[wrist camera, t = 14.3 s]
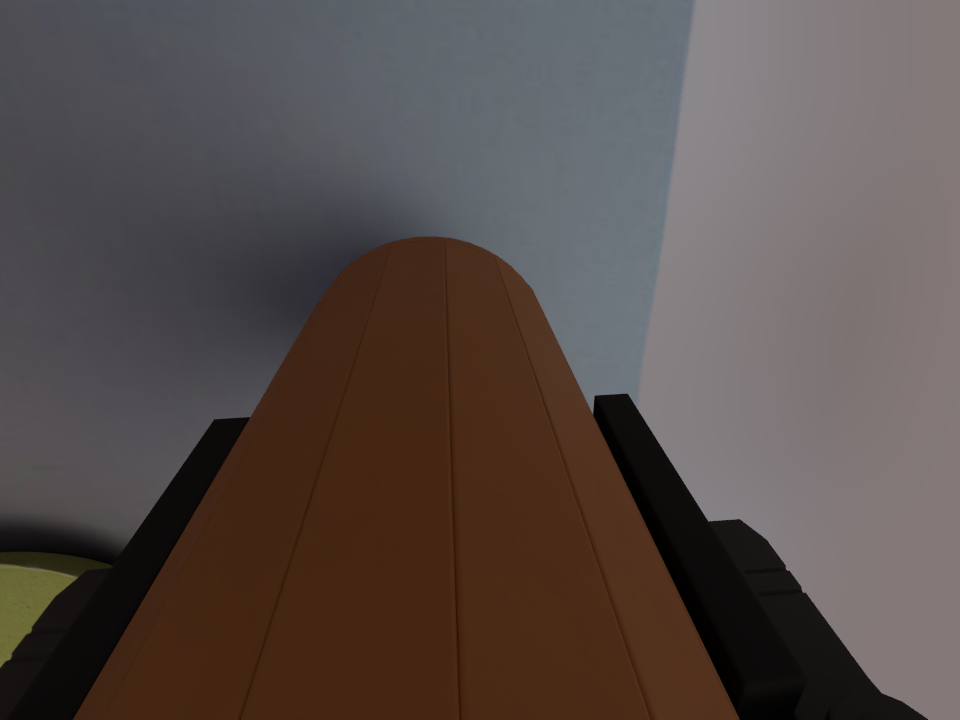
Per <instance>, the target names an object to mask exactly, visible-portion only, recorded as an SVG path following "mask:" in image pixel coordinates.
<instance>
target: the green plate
mask: <svg viewBox="0 0 960 720" xmlns="http://www.w3.org/2000/svg"><path fill="white" fill-rule="evenodd" d="M112 566H113V565H110V564H106V563H103V562H99V561H95V560H91V559H87V558H82V557H76V556H70V555H62V554H54V553H42V552H0V668H1V666H2V665H3V664H4V663H5V661H7V660H10V659H11V657H12V654H11V653H12V652H13V651H14V650H15V648H16V647H17V646H18V644H19V643H20V642H21V640H22V639H23V638H24V636H25V635H26V634H29V633H31V631H32V628H31V627H32V626H33V625H34V623H35V622H36V621H37V620H38V618H39V617H40V616H41V614H42V613H43V612H44V610H45V609H46V608H47V606H48V605H49V604H50V603H51V601H52V600H53V599H54V597H55V596H56V595H58V594H59V593H60V592H61V591H63V590H64V589H65V588H66V587H67V586H69V585H70V584H71V583H72V582H73V581H75V580H76V579H77V578H78V577H79V576H81V575H82V574H83V573H84V572H85V571H87V570H93V569H106V568H112Z"/></svg>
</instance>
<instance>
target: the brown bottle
mask: <svg viewBox="0 0 960 720" xmlns="http://www.w3.org/2000/svg"><path fill="white" fill-rule="evenodd" d="M73 720H740V719H739V717H738V715H737V713H736V711H735V709H734V707H733V705H732V703H731V701H730V698H729V696H728V694H727V692H726V690H725V688H724V686H723V684H722V682H721V680H720V678H719V676H718V674H717V672H716V669H715V667H714V665H713V663H712V661H711V659H710V657H709V655H708V653H707V651H706V649H705V647H704V645H703V642H702V640H701V638H700V636H699V634H698V632H697V630H696V628H695V626H694V624H693V622H692V620H691V618H690V615H689V613H688V611H687V609H686V607H685V605H684V603H683V601H682V599H681V597H680V595H679V593H678V591H677V588H676V586H675V584H674V582H673V580H672V578H671V576H670V574H669V572H668V570H667V568H666V566H665V564H664V561H663V559H662V557H661V555H660V553H659V551H658V549H657V547H656V545H655V543H654V541H653V539H652V537H651V534H650V532H649V530H648V528H647V526H646V524H645V522H644V520H643V518H642V516H641V514H640V512H639V510H638V508H637V505H636V503H635V501H634V499H633V497H632V495H631V493H630V491H629V489H628V487H627V485H626V483H625V481H624V478H623V476H622V474H621V472H620V470H619V468H618V466H617V464H616V462H615V460H614V458H613V456H612V454H611V451H610V449H609V447H608V445H607V443H606V441H605V439H604V437H603V435H602V433H601V431H600V429H599V427H598V424H597V422H596V420H595V418H594V416H593V414H592V412H591V410H590V408H589V406H588V404H587V402H586V400H585V397H584V395H583V393H582V391H581V389H580V387H579V385H578V383H577V381H576V379H575V377H574V375H573V373H572V370H571V368H570V366H569V364H568V362H567V360H566V358H565V356H564V354H563V352H562V350H561V348H560V346H559V344H558V341H557V339H556V337H555V335H554V333H553V331H552V329H551V327H550V325H549V323H548V321H547V319H546V317H545V314H544V312H543V310H542V308H541V306H540V304H539V302H538V300H537V298H536V296H535V294H534V292H533V290H532V289H531V287H530V286H529V285H528V284H527V283H526V282H525V280H524V279H523V278H522V277H521V276H520V275H519V274H518V273H517V272H516V271H515V270H514V269H513V268H512V267H511V266H510V265H509V264H507V263H506V262H505V261H503V260H502V259H501V258H499V257H498V256H496V255H494V254H493V253H491V252H489V251H487V250H485V249H484V248H481V247H478V246H476V245H473V244H471V243H468V242H464V241H460V240H456V239H452V238H443V237H414V238H408V239H401V240H398V241H394V242H391V243H387V244H384V245H382V246H380V247H378V248H375V249H373V250H371V251H369V252H367V253H366V254H364V255H363V256H361V257H359V258H358V259H356V260H355V261H354V262H353V263H351V264H350V265H349V266H348V267H347V268H345V269H344V270H343V271H342V272H341V274H340V275H339V276H338V277H337V278H336V279H335V280H334V281H333V283H332V284H331V286H330V287H329V289H328V290H327V292H326V293H325V295H324V296H323V297H322V298H321V300H320V301H319V302H318V303H317V305H316V307H315V308H314V310H313V312H312V313H311V315H310V317H309V318H308V320H307V322H306V324H305V325H304V327H303V329H302V330H301V332H300V334H299V335H298V337H297V339H296V341H295V342H294V344H293V346H292V347H291V349H290V351H289V353H288V354H287V356H286V358H285V359H284V361H283V363H282V364H281V366H280V368H279V370H278V371H277V373H276V375H275V376H274V378H273V380H272V381H271V383H270V385H269V387H268V388H267V390H266V392H265V393H264V395H263V397H262V398H261V400H260V402H259V404H258V405H257V407H256V409H255V410H254V412H253V414H252V415H251V417H250V419H249V421H248V422H247V424H246V426H245V427H244V429H243V431H242V433H241V434H240V436H239V438H238V439H237V441H236V443H235V444H234V446H233V448H232V450H231V451H230V453H229V455H228V456H227V458H226V460H225V461H224V463H223V465H222V467H221V468H220V470H219V472H218V473H217V475H216V477H215V478H214V480H213V482H212V484H211V485H210V487H209V489H208V490H207V492H206V494H205V496H204V497H203V499H202V501H201V502H200V504H199V506H198V507H197V509H196V511H195V513H194V514H193V516H192V518H191V519H190V521H189V523H188V524H187V526H186V528H185V530H184V531H183V533H182V535H181V536H180V538H179V540H178V541H177V543H176V545H175V547H174V548H173V550H172V552H171V553H170V555H169V557H168V559H167V560H166V562H165V564H164V565H163V567H162V569H161V570H160V572H159V574H158V576H157V577H156V579H155V581H154V582H153V584H152V586H151V587H150V589H149V591H148V593H147V594H146V596H145V598H144V599H143V601H142V603H141V604H140V606H139V608H138V610H137V611H136V613H135V615H134V616H133V618H132V620H131V622H130V623H129V625H128V627H127V628H126V630H125V632H124V633H123V635H122V637H121V639H120V640H119V642H118V644H117V645H116V647H115V649H114V650H113V652H112V654H111V656H110V657H109V659H108V661H107V662H106V664H105V666H104V667H103V669H102V671H101V673H100V674H99V676H98V678H97V679H96V681H95V683H94V685H93V686H92V688H91V690H90V691H89V693H88V695H87V696H86V698H85V700H84V702H83V703H82V705H81V707H80V708H79V710H78V712H77V713H76V715H75V717H74V719H73Z"/></svg>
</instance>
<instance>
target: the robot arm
mask: <svg viewBox="0 0 960 720" xmlns="http://www.w3.org/2000/svg"><path fill="white" fill-rule="evenodd" d="M593 416H594V418H595V420H596V422H597V424H598V427H599V429H600V431H601V433H602V435H603V437H604V439H605V441H606V443H607V445H608V447H609V449H610V451H611V454H612V456H613V458H614V460H615V462H616V464H617V466H618V468H619V470H620V472H621V474H622V476H623V478H624V481H625V483H626V485H627V487H628V489H629V491H630V493H631V495H632V497H633V499H634V501H635V503H636V505H637V508H638V510H639V512H640V514H641V516H642V518H643V520H644V522H645V524H646V526H647V528H648V530H649V532H650V534H651V537H652V539H653V541H654V543H655V545H656V547H657V549H658V551H659V553H660V555H661V557H662V559H663V561H664V564H665V566H666V568H667V570H668V572H669V574H670V576H671V578H672V580H673V582H674V584H675V586H676V588H677V591H678V593H679V595H680V597H681V599H682V601H683V603H684V605H685V607H686V609H687V611H688V613H689V615H690V618H691V620H692V622H693V624H694V626H695V628H696V630H697V632H698V634H699V636H700V638H701V640H702V642H703V645H704V647H705V649H706V651H707V653H708V655H709V657H710V659H711V661H712V663H713V665H714V667H715V669H716V672H717V674H718V676H719V678H720V680H721V682H722V684H723V686H724V688H725V690H726V692H727V694H728V696H729V698H730V701H731V703H732V705H733V707H734V709H735V711H736V713H737V715H738V717H739V719H740V720H928V719H927V718H925V717H924V716H922V715H921V714H919V713H918V712H916V711H915V710H914V709H912V708H911V707H909V706H908V705H906V704H905V703H903V702H902V701H899V700H897V699H894V698H892V697H889V696H887V695H884V694H882V693H881V692H880V691H879V690H878V689H877V687H876V686H875V685H874V684H873V683H872V682H871V680H870V679H869V678H868V677H867V675H866V674H865V673H864V671H863V670H862V669H861V667H860V666H859V665H858V663H857V662H856V660H855V659H854V658H853V657H852V656H851V654H850V652H849V651H848V650H847V648H846V647H845V646H844V644H843V643H842V642H841V640H840V639H839V637H838V636H837V635H836V634H835V632H834V631H833V629H832V628H831V627H830V625H829V624H828V622H827V621H826V620H825V618H824V617H823V616H822V614H821V613H820V612H819V611H818V609H817V608H816V606H815V605H814V603H813V602H812V601H811V599H810V598H809V597H808V595H807V594H806V593H803V592H802V589H801V586H800V584H799V583H798V582H797V580H796V579H795V578H794V576H793V575H792V574H791V572H790V571H787V570H786V565H785V564H784V563H783V561H782V560H781V559H780V557H779V556H778V555H777V553H776V552H775V551H774V549H773V548H772V546H771V545H770V544H769V542H768V541H767V540H766V539H765V538H763V537H762V536H761V535H760V534H758V533H757V532H756V531H754V530H753V529H752V528H750V527H749V526H748V525H747V524H745V523H743V521H741V520H740V519H737V520H723V521H712V522H711V521H710V522H708V520H707V519H706V517H705V516H704V514H703V512H702V511H701V509H700V508H699V506H698V505H697V503H696V501H695V500H694V498H693V497H692V495H691V494H690V492H689V490H688V489H687V487H686V485H685V484H684V482H683V481H682V479H681V478H680V476H679V474H678V473H677V471H676V470H675V468H674V467H673V465H672V463H671V462H670V460H669V459H668V457H667V456H666V454H665V453H664V451H663V449H662V447H661V446H660V444H659V443H658V441H657V440H656V438H655V436H654V435H653V433H652V432H651V430H650V429H649V427H648V425H647V424H646V422H645V421H644V419H643V417H642V416H641V414H640V413H639V411H638V409H637V408H636V406H635V405H634V403H633V401H632V400H631V398H630V397H629V395H628V394H615V395H598V396H595V399H594V412H593ZM249 419H250V417H246V418H230V419H214V421H213V422H212V424H211V425H210V426H209V428H208V429H207V431H206V432H205V434H204V435H203V437H202V438H201V439H200V441H199V442H198V444H197V445H196V447H195V448H194V449H193V451H192V452H191V454H190V455H189V457H188V458H187V460H186V461H185V462H184V464H183V465H182V467H181V468H180V470H179V471H178V473H177V474H176V475H175V477H174V478H173V480H172V481H171V483H170V484H169V485H168V487H167V488H166V490H165V491H164V493H163V494H162V496H161V497H160V498H159V500H158V501H157V503H156V504H155V506H154V507H153V509H152V510H151V511H150V513H149V514H148V516H147V517H146V519H145V520H144V521H143V523H142V524H141V526H140V527H139V529H138V530H137V532H136V533H135V534H134V536H133V537H132V539H131V540H130V542H129V543H128V545H127V546H126V547H125V549H124V550H123V552H122V553H121V555H120V556H119V557H118V559H117V560H116V562H115V563H114V565H113V566H112V568H106V569H93V570H87V571H85V572H84V573H83V574H82V575H81V576H79V577H78V578H77V579H76V580H75V581H73V582H72V583H71V584H70V585H69V586H67V587H66V588H65V589H64V590H63V591H61V592H60V593H59V594H58V595H56V596H55V597H54V599H53V600H52V601H51V603H50V604H49V605H48V606H47V608H46V609H45V610H44V612H43V613H42V614H41V616H40V617H39V618H38V620H37V621H36V622H35V623H34V625H33V626H32V627H31V628H32V631H31V633H29V634H26V635H25V636H24V638H23V639H22V640H21V642H20V643H19V644H18V646H17V647H16V648H15V650H14V651H13V652H12V653H11V654H12V657H11V659H10V660H7V661H5V663H4V664H3V665H2V666H1V668H0V720H73V719H74V717H75V715H76V713H77V712H78V710H79V708H80V707H81V705H82V703H83V702H84V700H85V698H86V696H87V695H88V693H89V691H90V690H91V688H92V686H93V685H94V683H95V681H96V679H97V678H98V676H99V674H100V673H101V671H102V669H103V667H104V666H105V664H106V662H107V661H108V659H109V657H110V656H111V654H112V652H113V650H114V649H115V647H116V645H117V644H118V642H119V640H120V639H121V637H122V635H123V633H124V632H125V630H126V628H127V627H128V625H129V623H130V622H131V620H132V618H133V616H134V615H135V613H136V611H137V610H138V608H139V606H140V604H141V603H142V601H143V599H144V598H145V596H146V594H147V593H148V591H149V589H150V587H151V586H152V584H153V582H154V581H155V579H156V577H157V576H158V574H159V572H160V570H161V569H162V567H163V565H164V564H165V562H166V560H167V559H168V557H169V555H170V553H171V552H172V550H173V548H174V547H175V545H176V543H177V541H178V540H179V538H180V536H181V535H182V533H183V531H184V530H185V528H186V526H187V524H188V523H189V521H190V519H191V518H192V516H193V514H194V513H195V511H196V509H197V507H198V506H199V504H200V502H201V501H202V499H203V497H204V496H205V494H206V492H207V490H208V489H209V487H210V485H211V484H212V482H213V480H214V478H215V477H216V475H217V473H218V472H219V470H220V468H221V467H222V465H223V463H224V461H225V460H226V458H227V456H228V455H229V453H230V451H231V450H232V448H233V446H234V444H235V443H236V441H237V439H238V438H239V436H240V434H241V433H242V431H243V429H244V427H245V426H246V424H247V422H248V421H249Z"/></svg>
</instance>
